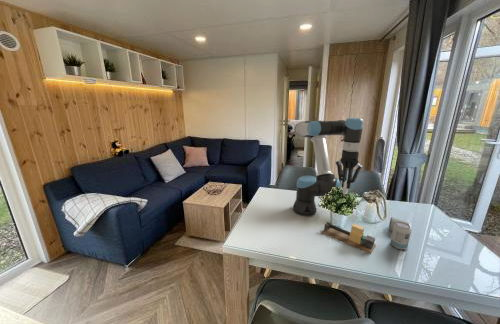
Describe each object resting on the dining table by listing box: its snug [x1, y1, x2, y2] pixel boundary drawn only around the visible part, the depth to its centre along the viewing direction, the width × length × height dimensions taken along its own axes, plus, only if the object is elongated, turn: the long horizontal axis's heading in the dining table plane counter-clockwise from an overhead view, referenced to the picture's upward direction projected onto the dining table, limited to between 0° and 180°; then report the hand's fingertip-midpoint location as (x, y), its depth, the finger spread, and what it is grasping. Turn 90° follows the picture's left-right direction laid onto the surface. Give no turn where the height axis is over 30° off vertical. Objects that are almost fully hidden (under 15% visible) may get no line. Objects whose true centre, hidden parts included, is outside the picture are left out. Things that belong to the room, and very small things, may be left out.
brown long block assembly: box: [321, 221, 377, 255], centre depth 105 cm, size 24×8×6 cm, turn 45°
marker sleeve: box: [349, 223, 365, 244], centre depth 102 cm, size 5×4×8 cm
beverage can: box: [390, 222, 412, 250], centre depth 99 cm, size 7×7×12 cm
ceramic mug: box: [388, 216, 410, 232], centre depth 112 cm, size 11×8×8 cm
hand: (345, 193), depth 107 cm, fingers closed
